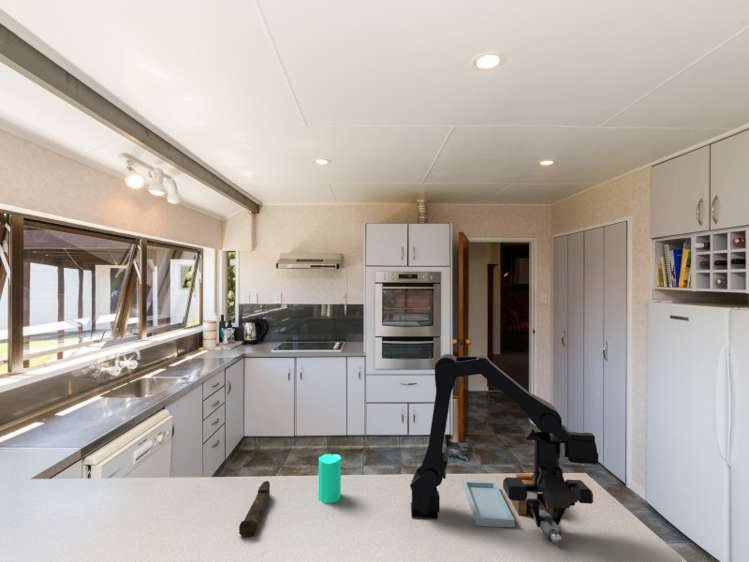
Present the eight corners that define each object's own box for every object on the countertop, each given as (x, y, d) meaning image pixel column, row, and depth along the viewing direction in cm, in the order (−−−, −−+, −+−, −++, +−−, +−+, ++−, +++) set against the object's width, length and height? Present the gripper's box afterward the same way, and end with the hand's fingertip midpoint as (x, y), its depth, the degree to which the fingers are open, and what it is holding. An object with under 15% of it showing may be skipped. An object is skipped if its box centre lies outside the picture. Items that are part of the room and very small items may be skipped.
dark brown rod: (256, 539, 87) (256, 518, 88) (238, 538, 87) (239, 517, 88) (277, 495, 106) (278, 478, 106) (263, 495, 106) (263, 477, 107)
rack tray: (476, 525, 93) (476, 518, 93) (463, 486, 111) (463, 480, 112) (514, 527, 92) (514, 520, 92) (495, 488, 111) (495, 482, 111)
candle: (345, 495, 106) (345, 451, 106) (331, 505, 101) (331, 458, 101) (327, 489, 109) (328, 446, 110) (313, 499, 104) (314, 453, 104)
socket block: (518, 515, 98) (518, 493, 98) (508, 496, 107) (508, 476, 107) (555, 516, 97) (555, 495, 97) (542, 497, 106) (542, 477, 106)
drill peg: (549, 548, 85) (549, 531, 85) (528, 513, 98) (528, 499, 98) (566, 549, 85) (566, 532, 85) (543, 514, 98) (543, 499, 98)
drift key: (525, 512, 98) (525, 489, 98) (515, 494, 107) (515, 473, 107) (545, 513, 98) (545, 490, 98) (533, 495, 107) (533, 474, 107)
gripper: (516, 473, 84) (516, 547, 83) (606, 476, 83) (606, 551, 82) (502, 452, 95) (502, 517, 95) (581, 455, 94) (581, 521, 93)
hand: (546, 526), depth 91 cm, fingers closed on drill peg, 4 cm apart
